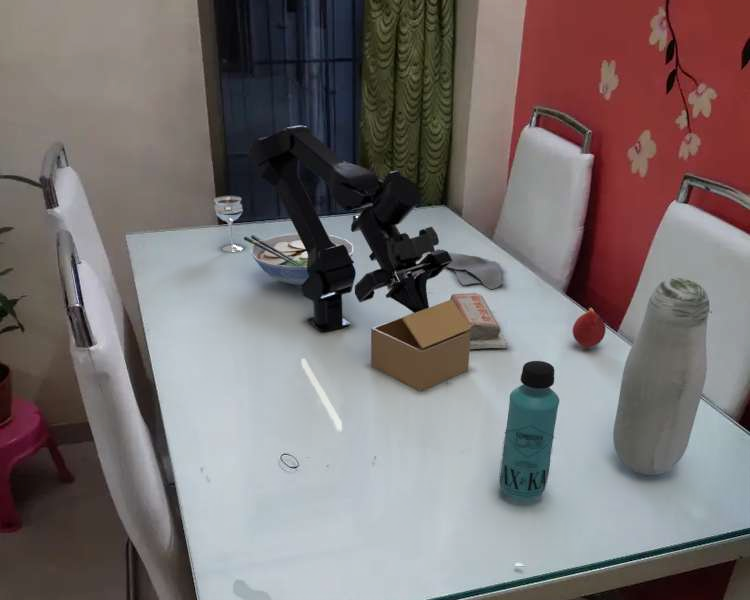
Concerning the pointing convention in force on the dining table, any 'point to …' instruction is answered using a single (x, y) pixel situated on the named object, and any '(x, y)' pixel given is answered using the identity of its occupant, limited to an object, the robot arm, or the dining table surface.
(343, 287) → the robot arm
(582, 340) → the onion
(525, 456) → the beverage bottle
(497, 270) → the cloth
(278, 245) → the ramen bowl
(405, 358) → the carton
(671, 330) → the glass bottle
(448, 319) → the flap
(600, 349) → the dining table surface
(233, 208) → the wineglass
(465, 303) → the packaged product
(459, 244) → the dining table surface
